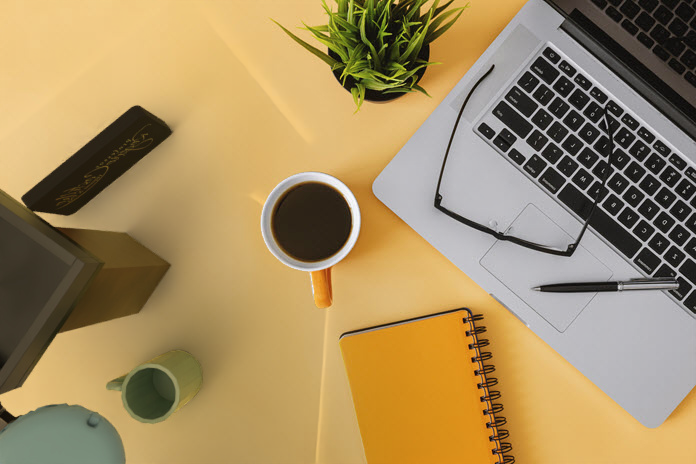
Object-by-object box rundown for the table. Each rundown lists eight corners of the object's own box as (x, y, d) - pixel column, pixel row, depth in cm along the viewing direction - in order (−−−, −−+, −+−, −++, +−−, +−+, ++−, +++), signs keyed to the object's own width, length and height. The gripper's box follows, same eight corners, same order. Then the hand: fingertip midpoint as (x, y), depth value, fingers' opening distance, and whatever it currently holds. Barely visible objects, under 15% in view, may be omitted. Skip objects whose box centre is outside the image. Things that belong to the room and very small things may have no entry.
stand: (138, 313, 75) (15, 345, 49) (92, 280, 75) (-55, 294, 49) (171, 264, 75) (65, 270, 49) (125, 232, 75) (-5, 221, 49)
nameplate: (167, 123, 76) (136, 103, 66) (174, 132, 76) (144, 113, 66) (63, 207, 76) (17, 199, 66) (70, 216, 76) (25, 210, 66)
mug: (204, 352, 74) (182, 366, 65) (200, 405, 74) (176, 426, 65) (134, 346, 74) (101, 359, 65) (129, 399, 74) (96, 419, 65)
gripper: (191, 511, 43) (142, 489, 60) (-37, 320, 39) (-23, 354, 55) (126, 602, 39) (92, 552, 55) (-141, 398, 34) (-91, 409, 51)
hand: (34, 452), depth 55 cm, fingers open, 13 cm apart
